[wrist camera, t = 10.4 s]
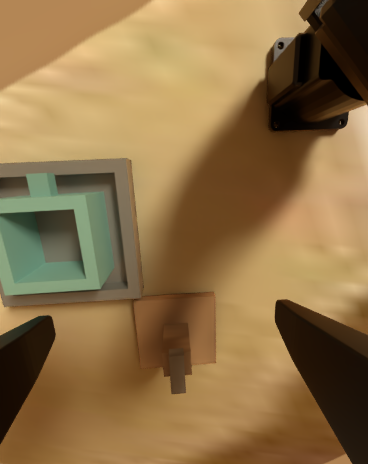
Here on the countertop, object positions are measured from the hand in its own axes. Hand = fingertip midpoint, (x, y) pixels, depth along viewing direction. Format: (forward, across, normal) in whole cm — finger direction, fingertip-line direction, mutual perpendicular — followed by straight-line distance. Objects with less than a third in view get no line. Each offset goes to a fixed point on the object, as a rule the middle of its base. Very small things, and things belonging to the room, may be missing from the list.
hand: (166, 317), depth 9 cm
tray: (+12, +9, -1) cm, 15 cm away
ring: (+11, +9, -1) cm, 14 cm away
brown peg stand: (+12, 0, +10) cm, 16 cm away
